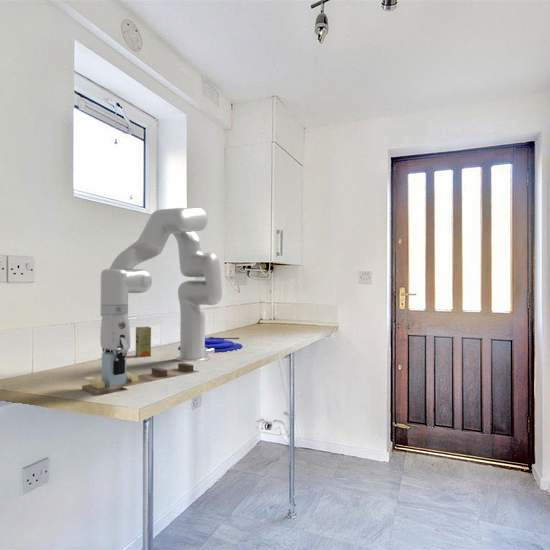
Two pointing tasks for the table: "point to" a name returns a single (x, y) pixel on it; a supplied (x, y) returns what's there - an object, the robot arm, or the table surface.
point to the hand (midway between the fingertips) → (113, 371)
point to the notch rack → (137, 379)
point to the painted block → (111, 371)
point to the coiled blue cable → (221, 344)
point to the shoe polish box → (143, 341)
